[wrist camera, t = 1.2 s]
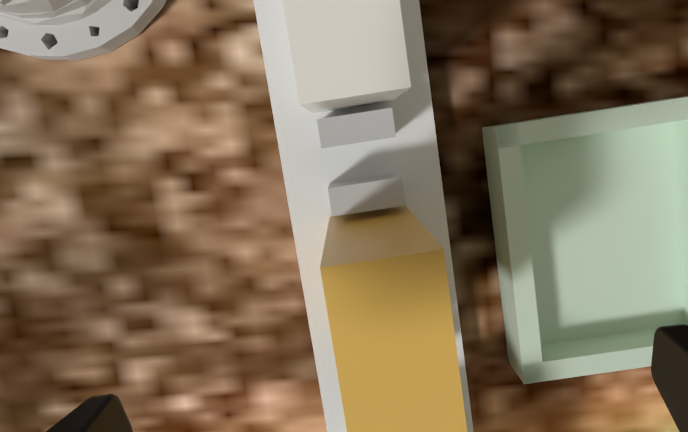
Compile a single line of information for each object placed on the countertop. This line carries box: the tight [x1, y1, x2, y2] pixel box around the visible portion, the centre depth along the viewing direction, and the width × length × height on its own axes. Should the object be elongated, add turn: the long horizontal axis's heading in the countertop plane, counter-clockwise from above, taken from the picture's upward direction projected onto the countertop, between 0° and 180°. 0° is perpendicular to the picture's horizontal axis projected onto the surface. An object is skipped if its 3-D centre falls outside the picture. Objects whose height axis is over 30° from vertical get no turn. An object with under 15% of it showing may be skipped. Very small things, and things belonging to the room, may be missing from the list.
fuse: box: [283, 0, 411, 114], centre depth 17 cm, size 5×3×6 cm, turn 9°
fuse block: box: [254, 0, 474, 432], centre depth 20 cm, size 26×6×3 cm, turn 9°
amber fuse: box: [320, 206, 467, 432], centre depth 17 cm, size 5×3×8 cm, turn 9°
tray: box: [482, 96, 688, 384], centre depth 21 cm, size 10×8×2 cm
